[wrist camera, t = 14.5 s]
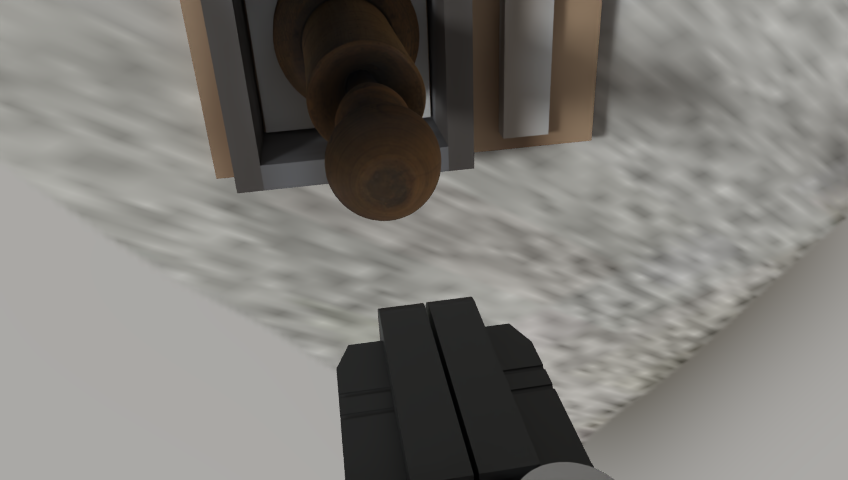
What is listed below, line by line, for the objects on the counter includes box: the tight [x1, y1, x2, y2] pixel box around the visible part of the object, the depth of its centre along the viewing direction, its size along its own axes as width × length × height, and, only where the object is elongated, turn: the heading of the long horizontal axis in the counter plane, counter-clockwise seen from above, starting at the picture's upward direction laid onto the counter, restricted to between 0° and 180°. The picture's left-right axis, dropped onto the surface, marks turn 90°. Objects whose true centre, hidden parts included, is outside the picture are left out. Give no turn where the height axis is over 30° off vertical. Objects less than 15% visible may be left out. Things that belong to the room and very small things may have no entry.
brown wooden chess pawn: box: [273, 0, 441, 221], centre depth 25 cm, size 7×6×18 cm
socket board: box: [180, 0, 602, 193], centre depth 32 cm, size 20×14×6 cm
